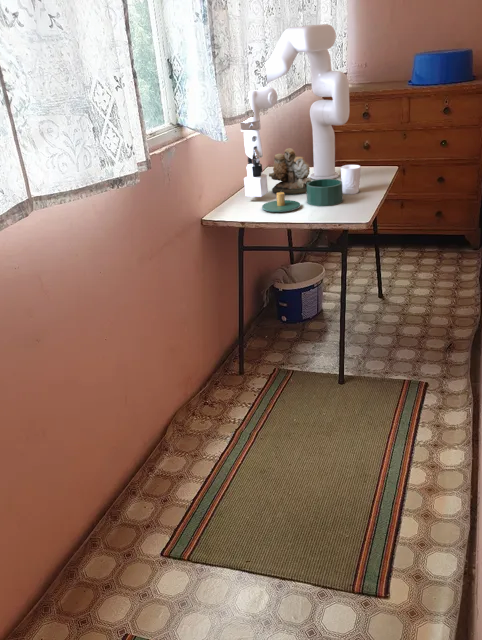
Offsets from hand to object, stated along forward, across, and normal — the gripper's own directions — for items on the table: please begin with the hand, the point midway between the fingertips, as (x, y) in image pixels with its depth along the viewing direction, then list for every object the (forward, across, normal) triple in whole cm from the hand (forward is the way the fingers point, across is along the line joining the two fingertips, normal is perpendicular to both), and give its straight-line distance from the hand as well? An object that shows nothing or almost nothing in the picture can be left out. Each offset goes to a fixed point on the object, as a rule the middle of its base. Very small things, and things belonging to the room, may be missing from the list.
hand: (254, 174), depth 239 cm
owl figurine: (+11, +7, -16) cm, 21 cm away
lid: (+9, -16, -5) cm, 20 cm away
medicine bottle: (+8, 0, 0) cm, 8 cm away
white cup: (+11, -7, -37) cm, 40 cm away
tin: (+10, -15, -23) cm, 30 cm away
